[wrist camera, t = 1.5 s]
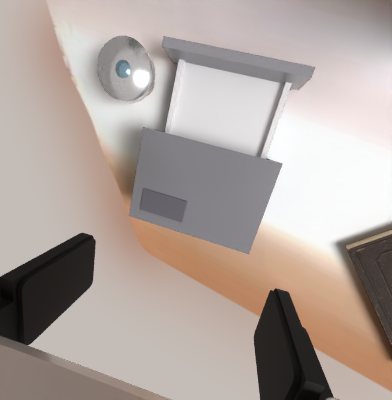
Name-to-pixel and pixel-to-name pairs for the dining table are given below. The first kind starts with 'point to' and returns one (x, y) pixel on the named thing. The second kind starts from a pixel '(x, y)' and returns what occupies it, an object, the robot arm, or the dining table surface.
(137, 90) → the disc
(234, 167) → the housing
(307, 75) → the tray
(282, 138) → the dining table surface
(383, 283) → the hardcover book
